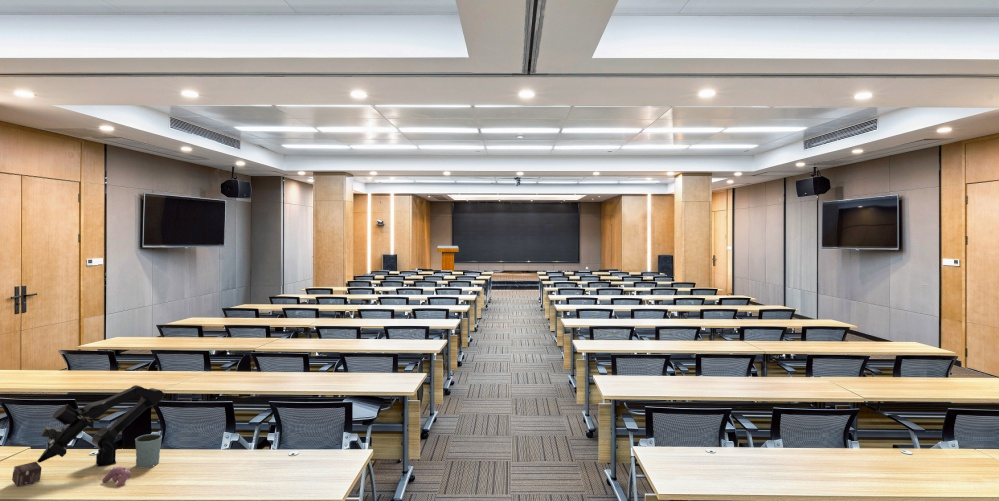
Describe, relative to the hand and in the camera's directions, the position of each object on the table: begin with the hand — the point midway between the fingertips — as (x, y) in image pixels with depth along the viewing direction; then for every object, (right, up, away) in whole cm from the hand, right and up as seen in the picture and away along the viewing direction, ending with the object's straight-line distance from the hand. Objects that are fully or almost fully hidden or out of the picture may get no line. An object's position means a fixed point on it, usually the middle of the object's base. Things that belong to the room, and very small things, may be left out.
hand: (38, 462), depth 228 cm
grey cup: (+34, -8, +18) cm, 39 cm away
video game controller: (+34, -8, -2) cm, 35 cm away
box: (+2, -3, -2) cm, 4 cm away
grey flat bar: (-2, -7, -2) cm, 7 cm away
